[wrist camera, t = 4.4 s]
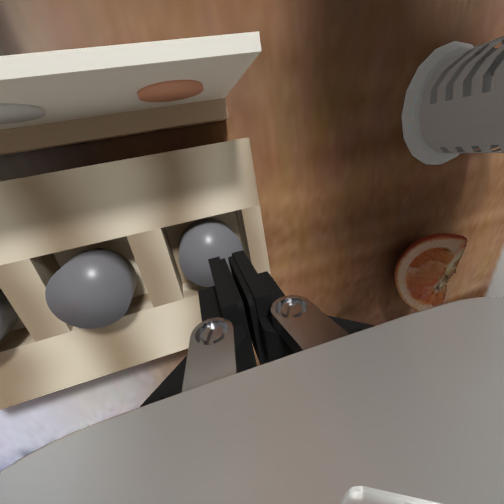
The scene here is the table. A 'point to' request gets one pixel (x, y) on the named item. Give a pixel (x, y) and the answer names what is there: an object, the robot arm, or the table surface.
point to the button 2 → (205, 249)
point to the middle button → (92, 289)
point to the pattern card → (118, 89)
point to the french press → (456, 103)
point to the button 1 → (6, 315)
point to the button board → (124, 242)
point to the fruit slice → (428, 269)
